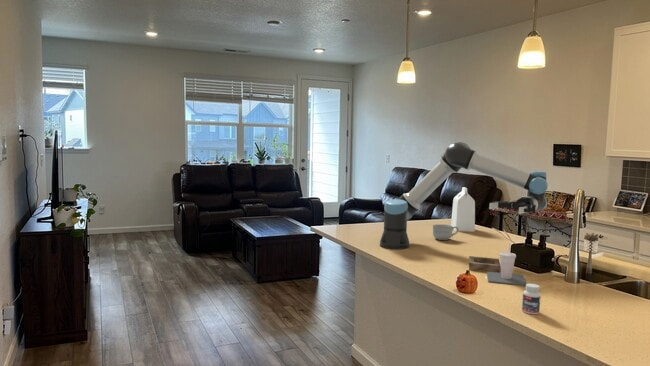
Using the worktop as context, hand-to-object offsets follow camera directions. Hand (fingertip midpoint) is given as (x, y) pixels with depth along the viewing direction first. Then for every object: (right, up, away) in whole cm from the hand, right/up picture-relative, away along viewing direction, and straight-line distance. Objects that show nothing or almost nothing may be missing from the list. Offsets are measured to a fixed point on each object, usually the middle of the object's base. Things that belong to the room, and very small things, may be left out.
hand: (504, 208), depth 209 cm
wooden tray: (-10, -26, -2) cm, 28 cm away
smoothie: (-6, -27, -18) cm, 33 cm away
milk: (+6, -18, +85) cm, 87 cm away
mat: (-6, -27, -18) cm, 34 cm away
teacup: (-13, -20, +54) cm, 59 cm away
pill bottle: (-12, -31, -54) cm, 63 cm away
